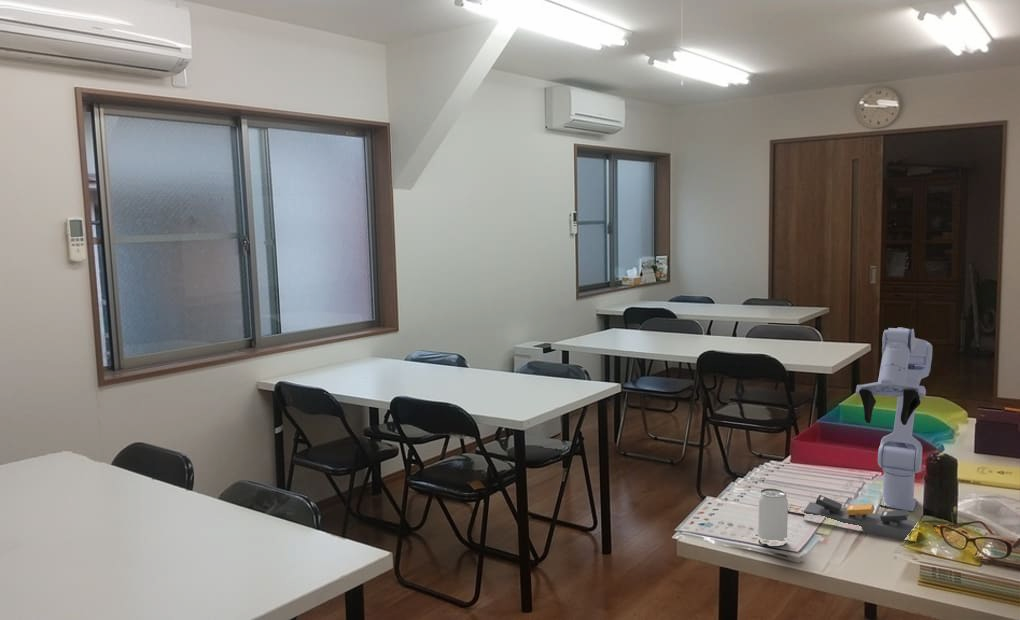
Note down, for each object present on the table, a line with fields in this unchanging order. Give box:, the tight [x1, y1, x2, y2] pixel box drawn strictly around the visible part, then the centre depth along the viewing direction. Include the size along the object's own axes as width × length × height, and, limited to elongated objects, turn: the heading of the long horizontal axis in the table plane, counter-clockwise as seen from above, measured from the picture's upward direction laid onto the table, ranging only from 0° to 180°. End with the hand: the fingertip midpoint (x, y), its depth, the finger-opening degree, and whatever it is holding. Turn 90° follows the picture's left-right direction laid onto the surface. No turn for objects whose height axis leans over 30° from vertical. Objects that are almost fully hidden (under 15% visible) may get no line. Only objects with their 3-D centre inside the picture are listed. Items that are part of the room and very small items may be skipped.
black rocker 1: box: [814, 494, 843, 513], centre depth 187 cm, size 4×6×2 cm, turn 56°
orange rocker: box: [846, 503, 875, 516], centre depth 183 cm, size 4×6×2 cm, turn 56°
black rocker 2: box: [880, 510, 909, 522], centre depth 179 cm, size 4×6×2 cm, turn 56°
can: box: [757, 488, 789, 540], centre depth 175 cm, size 6×6×12 cm
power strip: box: [803, 501, 918, 541], centre depth 185 cm, size 7×30×4 cm, turn 56°
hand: (885, 421), depth 170 cm, fingers open, 7 cm apart
